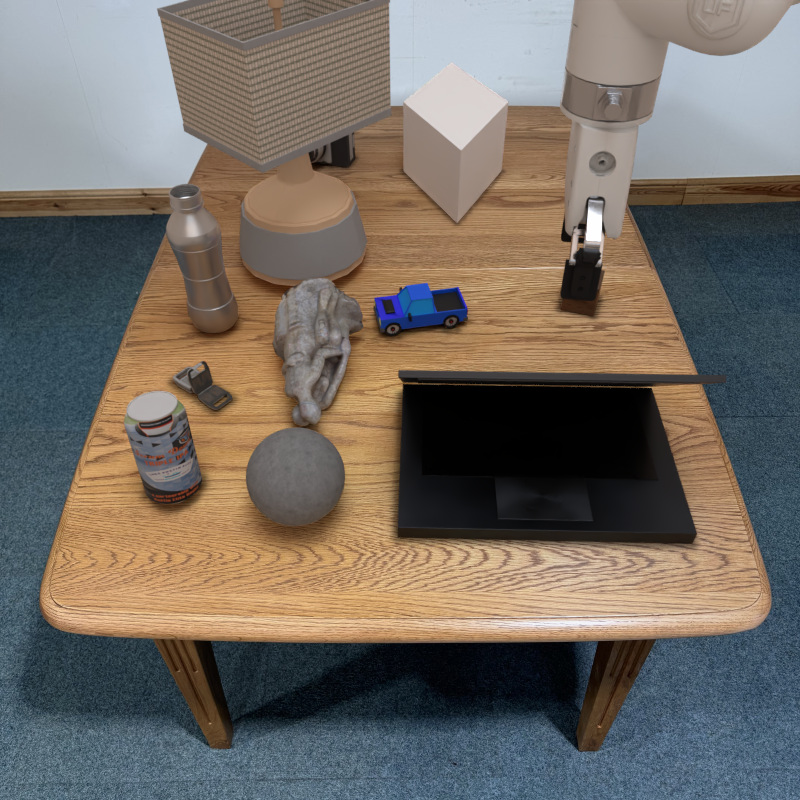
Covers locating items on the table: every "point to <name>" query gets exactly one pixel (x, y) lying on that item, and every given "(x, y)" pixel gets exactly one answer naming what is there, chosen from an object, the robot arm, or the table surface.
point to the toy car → (419, 308)
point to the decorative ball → (295, 476)
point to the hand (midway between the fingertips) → (576, 268)
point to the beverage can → (163, 447)
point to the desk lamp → (284, 115)
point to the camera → (335, 152)
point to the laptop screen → (555, 378)
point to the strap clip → (201, 385)
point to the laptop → (538, 465)
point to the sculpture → (314, 344)
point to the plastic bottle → (200, 260)
